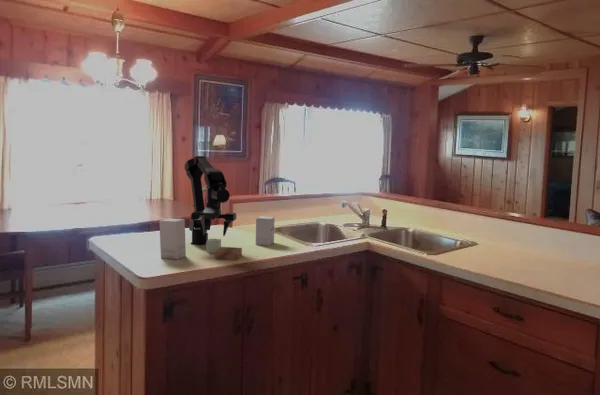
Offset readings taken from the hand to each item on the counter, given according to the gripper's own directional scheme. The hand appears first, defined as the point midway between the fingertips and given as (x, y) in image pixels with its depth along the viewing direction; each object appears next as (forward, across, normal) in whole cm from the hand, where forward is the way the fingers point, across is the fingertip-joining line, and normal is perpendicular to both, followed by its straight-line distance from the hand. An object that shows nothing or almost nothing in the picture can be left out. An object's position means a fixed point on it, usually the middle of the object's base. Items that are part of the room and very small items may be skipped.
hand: (213, 235), depth 201 cm
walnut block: (+7, +9, -9) cm, 15 cm away
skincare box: (+7, -13, -14) cm, 20 cm away
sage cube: (+7, 0, 0) cm, 7 cm away
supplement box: (+7, +19, +20) cm, 28 cm away
